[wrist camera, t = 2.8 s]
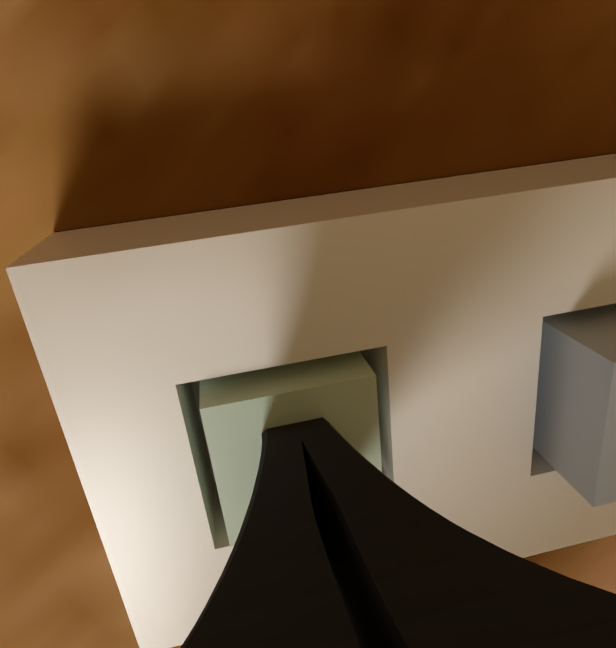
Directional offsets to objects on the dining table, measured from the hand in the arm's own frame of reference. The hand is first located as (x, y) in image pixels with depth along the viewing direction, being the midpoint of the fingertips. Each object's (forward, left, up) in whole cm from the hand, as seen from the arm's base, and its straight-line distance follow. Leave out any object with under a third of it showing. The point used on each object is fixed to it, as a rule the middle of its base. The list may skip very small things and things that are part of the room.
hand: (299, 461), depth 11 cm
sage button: (0, 0, -3) cm, 3 cm away
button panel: (0, -8, -3) cm, 9 cm away
